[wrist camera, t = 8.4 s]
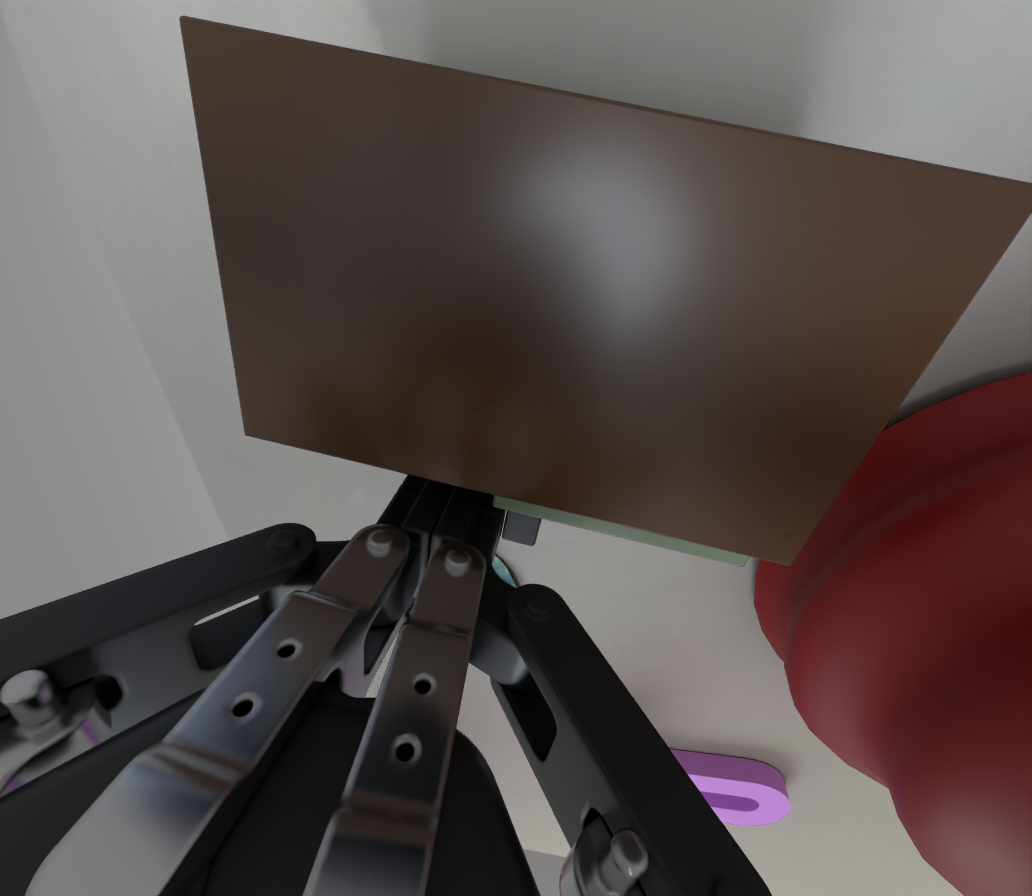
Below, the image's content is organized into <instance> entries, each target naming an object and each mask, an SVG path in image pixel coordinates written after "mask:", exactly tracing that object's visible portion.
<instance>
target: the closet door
mask: <svg viewBox="0 0 1032 896" xmlns="http://www.w3.org/2000/svg"><path fill="white" fill-rule="evenodd" d="M493 506H494V507H496V508H500V509H504V510H507V513H506V518H505V523H504V528H503V532H502V538H503V539H505V540H509V541H513V542H517V543H521V544H526V545H530V546H533V545H534V544H535V542H536V538H537V534H538V531H539V527H540V523H541V519H546V520H550V521H554V522H558V523H562V524H566V525H570V526H575V527H579V528H583V529H587V530H591V531H595V532H599V533H603V534H608V535H612V536H616V537H620V538H624V539H628V540H632V541H637V542H641V543H645V544H649V545H653V546H657V547H661V548H665V549H670V550H674V551H678V552H682V553H686V554H690V555H694V556H699V557H703V558H707V559H711V560H715V561H719V562H723V563H727V564H732V565H736V566H740V567H743V566H744V565H745V563H746V561H747V560H748V558H749V556H745V555H741V554H737V553H733V552H729V551H724V550H720V549H716V548H712V547H708V546H704V545H700V544H695V543H691V542H687V541H683V540H679V539H675V538H670V537H666V536H662V535H658V534H654V533H650V532H645V531H641V530H637V529H633V528H629V527H625V526H621V525H616V524H612V523H608V522H604V521H600V520H596V519H591V518H587V517H583V516H579V515H575V514H571V513H567V512H562V511H558V510H554V509H550V508H546V507H542V506H537V505H533V504H529V503H525V502H521V501H517V500H512V499H508V498H504V497H500V496H496V495H494V499H493Z"/></svg>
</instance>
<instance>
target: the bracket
mask: <svg viewBox="0 0 1032 896" xmlns="http://www.w3.org/2000/svg"><path fill="white" fill-rule="evenodd" d="M670 750H671V752H672V753H673V754H674V756H675V757H676V759H677V760H678V761H679V763H680V764H681V766H682V767H683V768H684V770H685V771H686V773H687V774H688V775H689V777H690V778H691V780H692V781H693V782H694V784H695V785H696V787H697V788H698V789H699V791H700V792H701V794H702V795H703V796H704V798H705V799H706V801H707V802H708V804H709V805H710V806H711V808H712V809H713V811H714V812H715V813H716V815H717V816H718V818H719V819H720V820H721V822H724V823H731V824H738V825H764V824H769V823H773V822H776V821H779V820H781V819H783V818H784V817H786V816H787V815H788V813H789V812H790V810H791V803H790V800H789V797H788V793H787V790H786V787H785V783H784V780H783V777H782V775H781V774H780V773H779V772H778V771H777V770H776V769H774V768H773V767H771V766H769V765H767V764H765V763H762V762H759V761H755V760H750V759H744V758H736V757H728V756H720V755H712V754H704V753H696V752H688V751H680V750H673V749H670Z"/></svg>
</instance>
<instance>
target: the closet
mask: <svg viewBox="0 0 1032 896" xmlns="http://www.w3.org/2000/svg"><path fill="white" fill-rule="evenodd" d="M179 20H180V27H181V33H182V39H183V46H184V52H185V58H186V65H187V71H188V77H189V84H190V90H191V96H192V103H193V109H194V115H195V122H196V128H197V134H198V141H199V147H200V153H201V160H202V166H203V172H204V179H205V185H206V192H207V198H208V204H209V211H210V217H211V223H212V230H213V236H214V242H215V249H216V255H217V261H218V268H219V274H220V280H221V287H222V293H223V299H224V306H225V312H226V318H227V325H228V331H229V337H230V344H231V350H232V356H233V363H234V369H235V375H236V382H237V388H238V394H239V401H240V407H241V413H242V420H243V426H244V432H245V435H247V436H251V437H255V438H259V439H263V440H267V441H271V442H276V443H280V444H284V445H288V446H292V447H296V448H301V449H305V450H309V451H313V452H317V453H321V454H325V455H330V456H334V457H338V458H342V459H346V460H350V461H355V462H359V463H363V464H367V465H371V466H375V467H379V468H384V469H388V470H392V471H396V472H400V473H404V474H409V475H413V476H417V477H421V478H425V479H429V480H434V481H438V482H442V483H446V484H450V485H454V486H458V487H463V488H467V489H471V490H475V491H479V492H483V493H488V494H492V495H496V496H500V497H504V498H508V499H512V500H517V501H521V502H525V503H529V504H533V505H537V506H542V507H546V508H550V509H554V510H558V511H562V512H567V513H571V514H575V515H579V516H583V517H587V518H591V519H596V520H600V521H604V522H608V523H612V524H616V525H621V526H625V527H629V528H633V529H637V530H641V531H645V532H650V533H654V534H658V535H662V536H666V537H670V538H675V539H679V540H683V541H687V542H691V543H695V544H700V545H704V546H708V547H712V548H716V549H720V550H724V551H729V552H733V553H737V554H741V555H745V556H749V557H754V558H758V559H762V560H766V561H770V562H774V563H778V564H783V565H787V566H790V565H791V564H792V563H793V561H794V560H795V558H796V557H797V555H798V554H799V552H800V551H801V549H802V548H803V547H804V545H805V544H806V542H807V541H808V539H809V538H810V536H811V535H812V533H813V532H814V530H815V529H816V528H817V526H818V525H819V523H820V522H821V520H822V519H823V517H824V516H825V514H826V513H827V511H828V510H829V509H830V507H831V506H832V504H833V503H834V501H835V500H836V498H837V497H838V495H839V494H840V492H841V491H842V489H843V488H844V487H845V485H846V484H847V482H848V481H849V479H850V478H851V476H852V475H853V473H854V472H855V470H856V469H857V468H858V466H859V465H860V463H861V462H862V460H863V459H864V457H865V456H866V454H867V453H868V451H869V450H870V449H871V447H872V446H873V444H874V443H875V441H876V440H877V438H878V437H879V435H880V434H881V432H882V431H883V430H884V428H885V427H886V425H887V424H888V422H889V421H890V419H891V418H892V416H893V415H894V413H895V412H896V410H897V409H898V408H899V406H900V405H901V403H902V402H903V400H904V399H905V397H906V396H907V394H908V393H909V391H910V390H911V389H912V387H913V386H914V384H915V383H916V381H917V380H918V378H919V377H920V375H921V374H922V372H923V371H924V370H925V368H926V367H927V365H928V364H929V362H930V361H931V359H932V358H933V356H934V355H935V353H936V352H937V351H938V349H939V348H940V346H941V345H942V343H943V342H944V340H945V339H946V337H947V336H948V334H949V333H950V331H951V330H952V329H953V327H954V326H955V324H956V323H957V321H958V320H959V318H960V317H961V315H962V314H963V312H964V311H965V310H966V308H967V307H968V305H969V304H970V302H971V301H972V299H973V298H974V296H975V295H976V293H977V292H978V291H979V289H980V288H981V286H982V285H983V283H984V282H985V280H986V279H987V277H988V276H989V274H990V273H991V272H992V270H993V269H994V267H995V266H996V264H997V263H998V261H999V260H1000V258H1001V257H1002V255H1003V254H1004V252H1005V251H1006V250H1007V248H1008V247H1009V245H1010V244H1011V242H1012V241H1013V239H1014V238H1015V236H1016V235H1017V233H1018V232H1019V231H1020V229H1021V228H1022V226H1023V225H1024V223H1025V222H1026V220H1027V219H1028V217H1029V216H1030V214H1031V213H1032V183H1029V182H1024V181H1019V180H1014V179H1009V178H1003V177H998V176H993V175H988V174H983V173H978V172H973V171H968V170H963V169H958V168H953V167H948V166H943V165H938V164H933V163H927V162H922V161H917V160H912V159H907V158H902V157H897V156H892V155H887V154H882V153H877V152H872V151H867V150H862V149H857V148H851V147H846V146H841V145H836V144H831V143H826V142H821V141H816V140H811V139H806V138H801V137H796V136H791V135H786V134H781V133H775V132H770V131H765V130H760V129H755V128H750V127H745V126H740V125H735V124H730V123H725V122H720V121H715V120H710V119H704V118H699V117H694V116H689V115H684V114H679V113H674V112H669V111H664V110H659V109H654V108H649V107H644V106H639V105H634V104H628V103H623V102H618V101H613V100H608V99H603V98H598V97H593V96H588V95H583V94H578V93H573V92H568V91H563V90H558V89H552V88H547V87H542V86H537V85H532V84H527V83H522V82H517V81H512V80H507V79H502V78H497V77H492V76H487V75H482V74H476V73H471V72H466V71H461V70H456V69H451V68H446V67H441V66H436V65H431V64H426V63H421V62H416V61H411V60H406V59H400V58H395V57H390V56H385V55H380V54H375V53H370V52H365V51H360V50H355V49H350V48H345V47H340V46H335V45H329V44H324V43H319V42H314V41H309V40H304V39H299V38H294V37H289V36H284V35H279V34H274V33H269V32H264V31H259V30H253V29H248V28H243V27H238V26H233V25H228V24H223V23H218V22H213V21H208V20H203V19H198V18H193V17H188V16H181V17H180V19H179Z"/></svg>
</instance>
